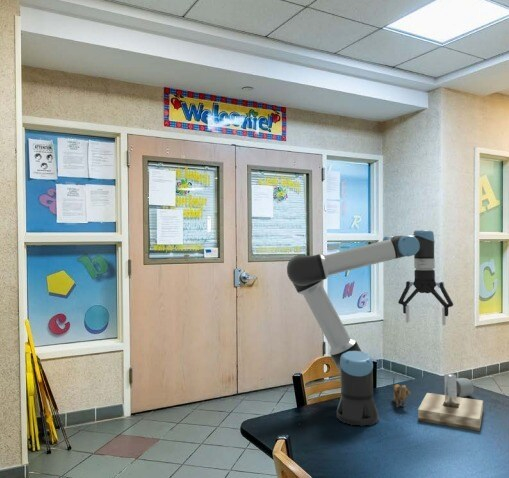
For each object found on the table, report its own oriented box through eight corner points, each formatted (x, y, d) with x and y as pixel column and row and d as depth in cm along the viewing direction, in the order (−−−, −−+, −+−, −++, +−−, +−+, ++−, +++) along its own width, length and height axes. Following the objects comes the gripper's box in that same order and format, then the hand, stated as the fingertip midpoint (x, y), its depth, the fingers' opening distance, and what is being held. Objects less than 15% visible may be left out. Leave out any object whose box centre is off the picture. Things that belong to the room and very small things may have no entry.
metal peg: (444, 413, 166) (443, 375, 166) (446, 410, 170) (445, 373, 170) (456, 415, 164) (455, 377, 164) (457, 412, 168) (456, 374, 168)
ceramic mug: (475, 397, 185) (475, 378, 186) (461, 400, 182) (460, 381, 182) (455, 390, 195) (454, 372, 195) (440, 393, 192) (440, 375, 192)
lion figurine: (412, 410, 173) (412, 386, 173) (398, 410, 173) (398, 387, 173) (399, 397, 188) (398, 375, 188) (386, 397, 188) (386, 375, 188)
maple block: (418, 420, 163) (417, 409, 163) (427, 402, 181) (427, 392, 181) (479, 431, 153) (479, 419, 153) (483, 411, 171) (482, 400, 171)
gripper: (390, 269, 181) (391, 322, 181) (457, 270, 168) (458, 327, 168) (394, 268, 187) (395, 319, 187) (460, 269, 174) (461, 324, 174)
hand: (425, 323), depth 177 cm, fingers open, 13 cm apart
